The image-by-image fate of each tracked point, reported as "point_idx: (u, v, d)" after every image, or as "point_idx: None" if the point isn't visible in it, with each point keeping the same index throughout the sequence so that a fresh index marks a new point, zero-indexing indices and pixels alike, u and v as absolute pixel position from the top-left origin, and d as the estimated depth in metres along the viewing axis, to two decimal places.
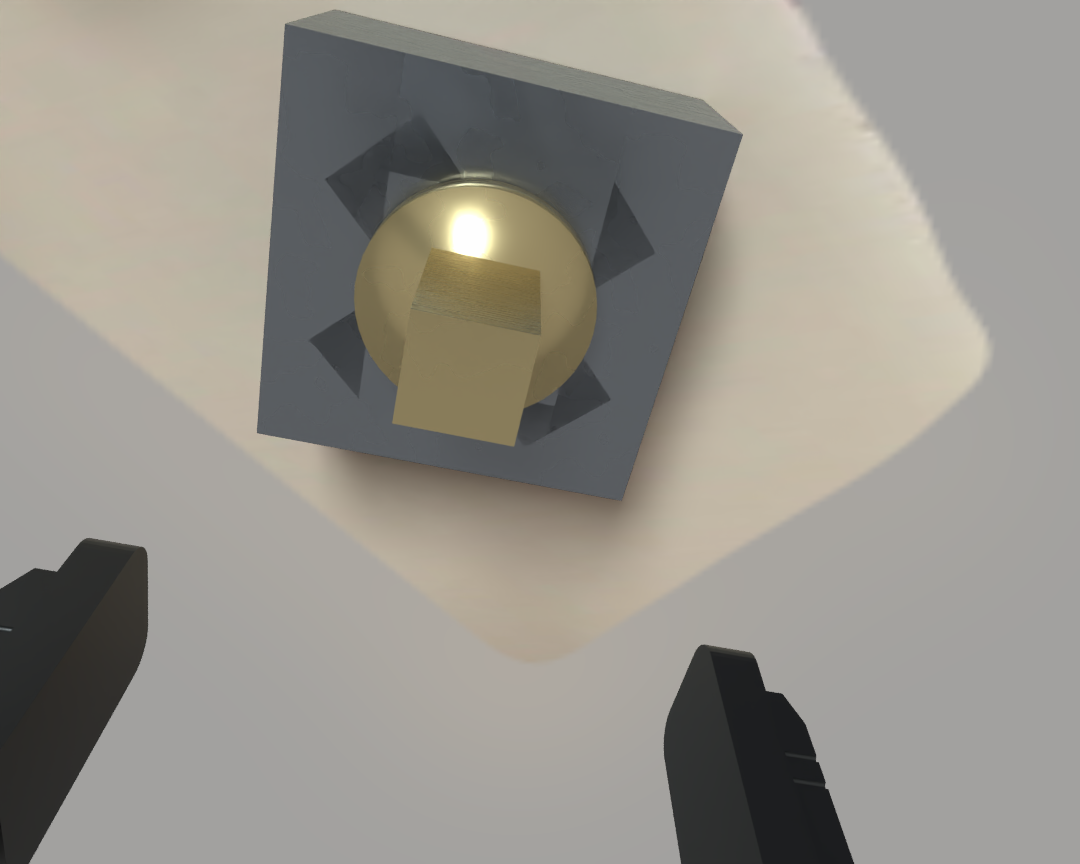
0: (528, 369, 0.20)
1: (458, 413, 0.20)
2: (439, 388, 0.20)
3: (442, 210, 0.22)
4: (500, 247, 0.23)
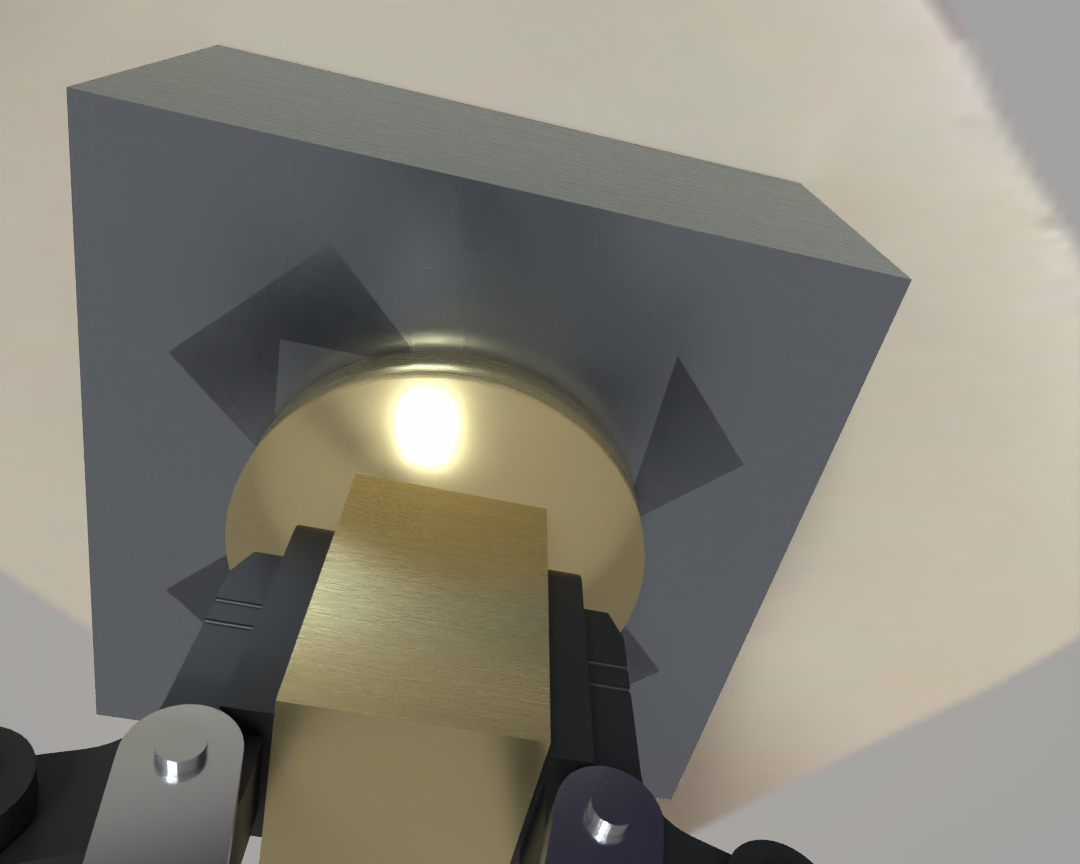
0: (524, 793, 0.10)
1: (387, 854, 0.10)
2: (347, 820, 0.10)
3: (372, 415, 0.12)
4: (477, 473, 0.13)
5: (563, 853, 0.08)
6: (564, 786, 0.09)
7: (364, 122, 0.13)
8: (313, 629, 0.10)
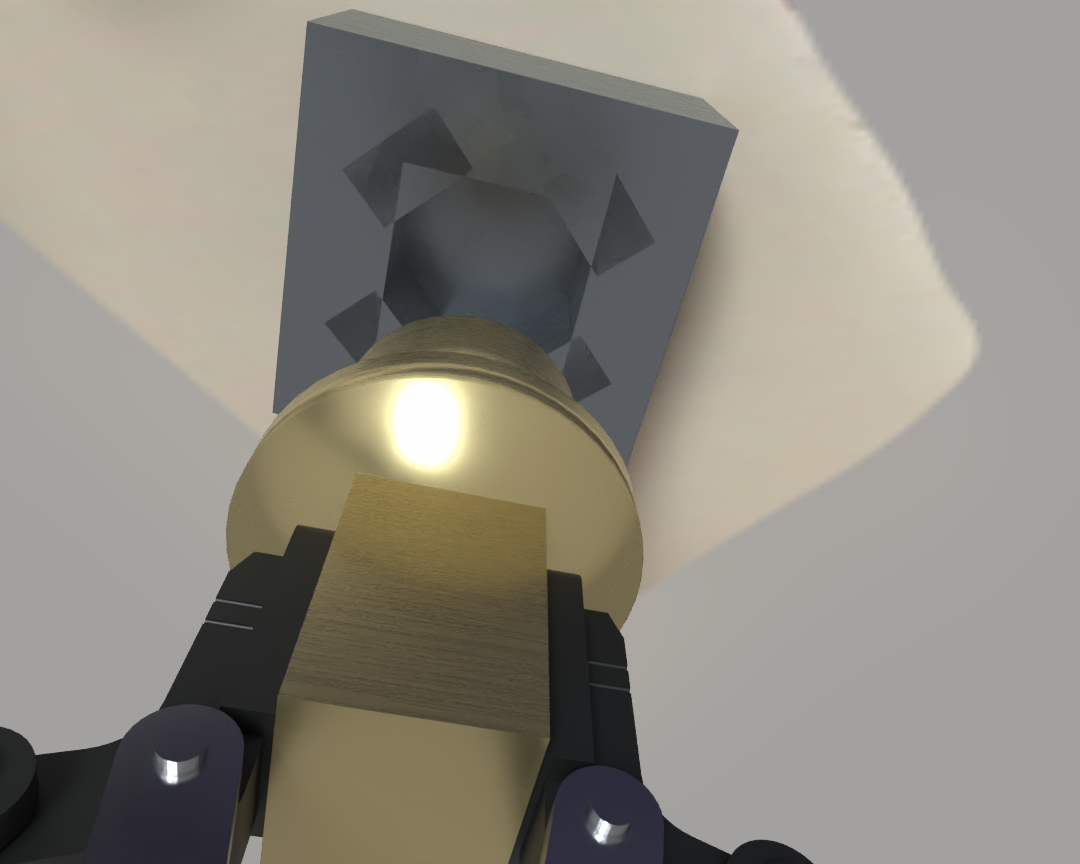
0: (523, 789, 0.10)
1: (386, 850, 0.10)
2: (348, 816, 0.10)
3: (372, 415, 0.12)
4: (476, 472, 0.13)
5: (563, 853, 0.08)
6: (564, 786, 0.09)
7: (447, 47, 0.24)
8: (314, 626, 0.10)
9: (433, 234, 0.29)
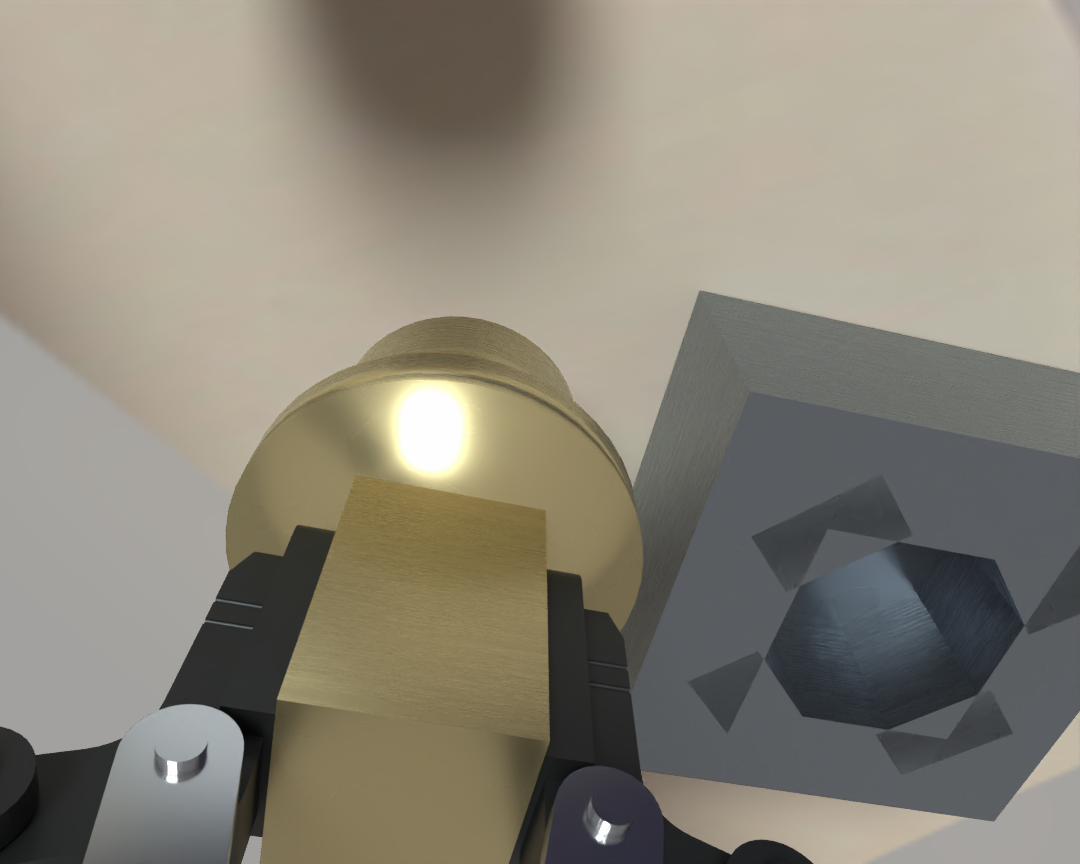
0: (523, 792, 0.10)
1: (387, 854, 0.10)
2: (347, 819, 0.10)
3: (372, 417, 0.12)
4: (476, 474, 0.13)
5: (563, 852, 0.08)
6: (564, 786, 0.09)
7: (872, 380, 0.20)
8: (314, 629, 0.10)
9: None
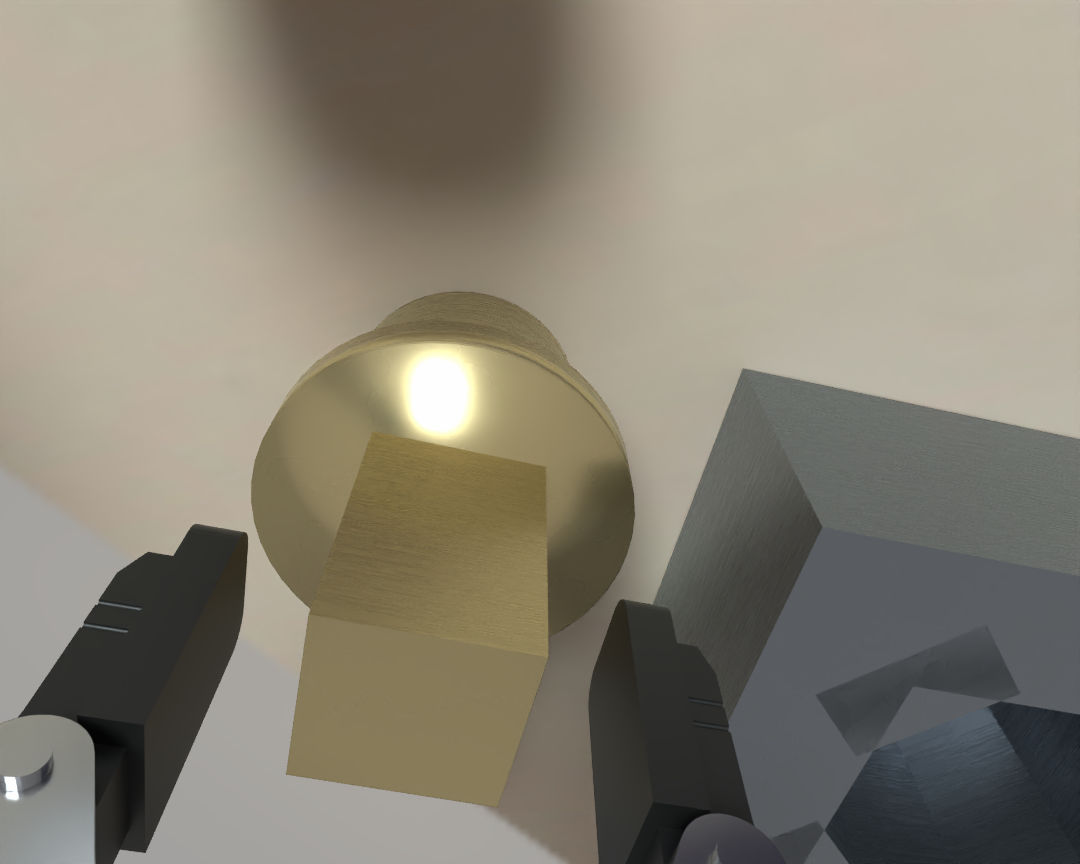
0: (524, 705, 0.11)
1: (400, 762, 0.12)
2: (366, 729, 0.11)
3: (389, 377, 0.14)
4: (483, 432, 0.14)
5: None
6: (686, 836, 0.09)
7: (968, 496, 0.16)
8: (339, 559, 0.11)
9: None
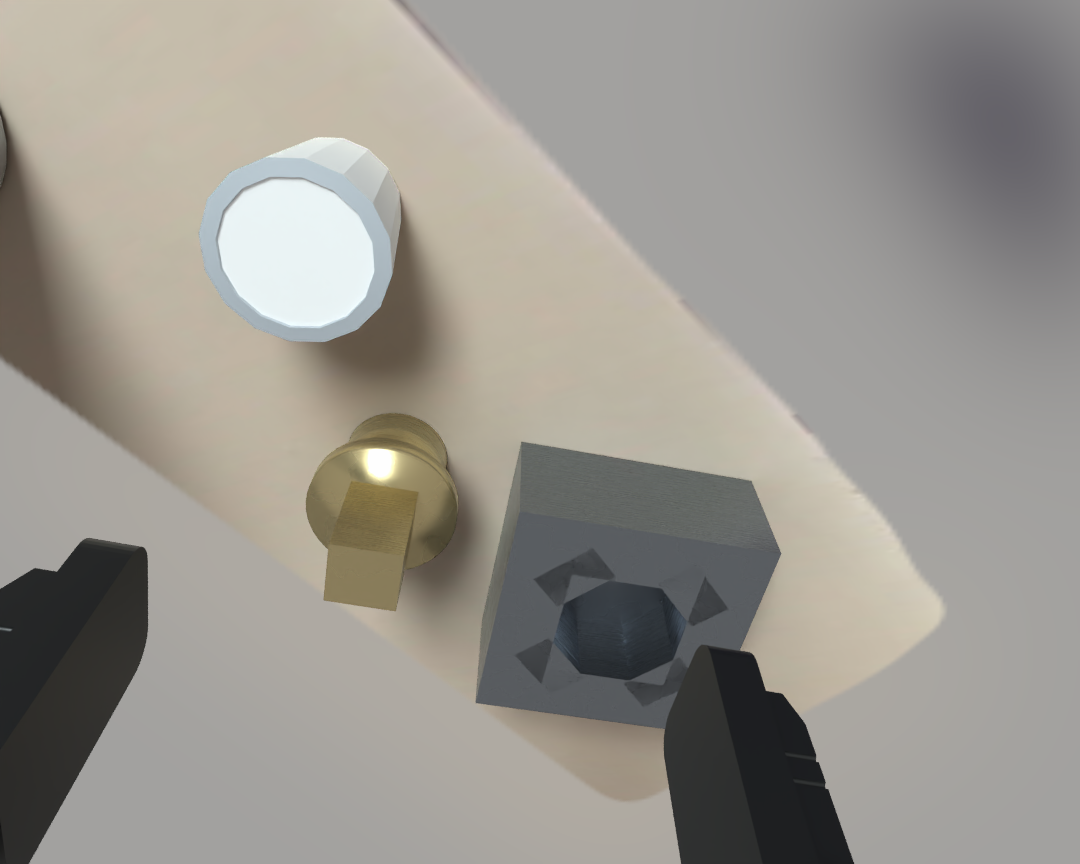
0: (398, 572, 0.34)
1: (361, 594, 0.35)
2: (349, 582, 0.34)
3: (356, 461, 0.37)
4: (393, 480, 0.37)
5: None
6: None
7: (596, 497, 0.39)
8: (338, 527, 0.34)
9: None
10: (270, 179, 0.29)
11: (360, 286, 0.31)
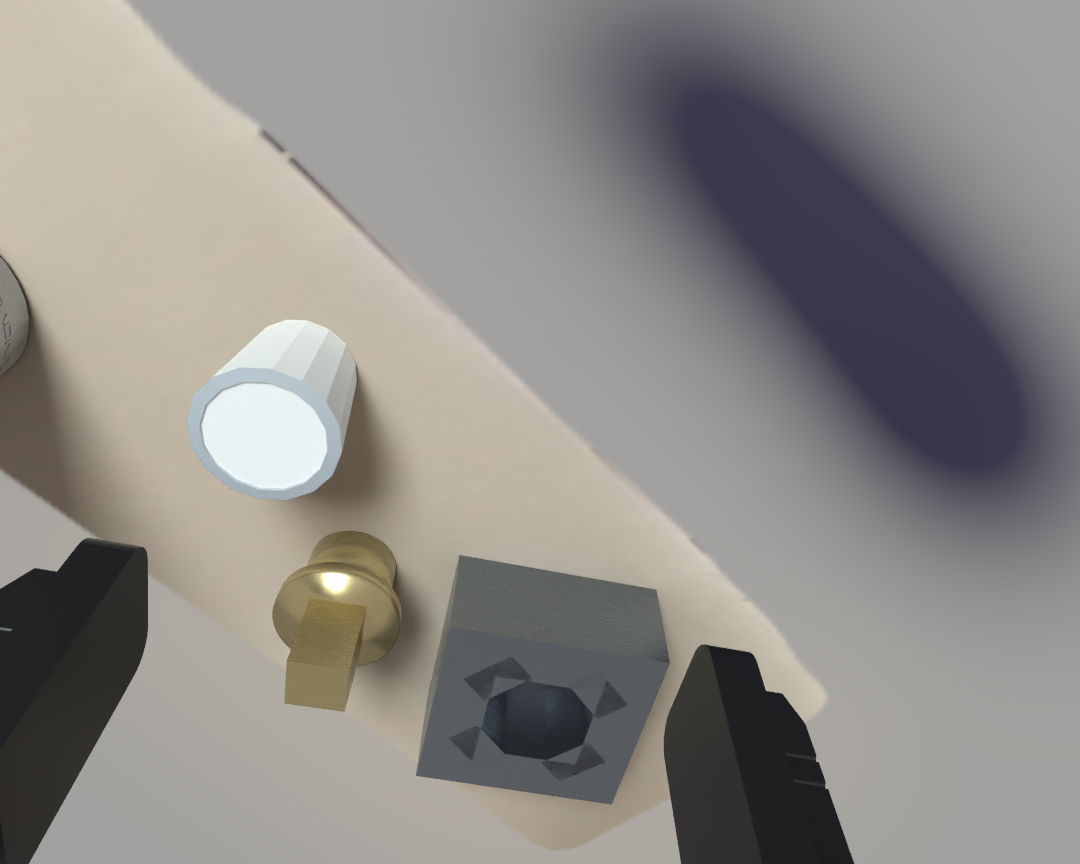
0: (345, 682, 0.41)
1: (315, 699, 0.42)
2: (304, 690, 0.42)
3: (312, 583, 0.44)
4: (344, 597, 0.44)
5: None
6: None
7: (517, 611, 0.46)
8: (295, 644, 0.42)
9: None
10: (244, 383, 0.36)
11: (316, 460, 0.38)
